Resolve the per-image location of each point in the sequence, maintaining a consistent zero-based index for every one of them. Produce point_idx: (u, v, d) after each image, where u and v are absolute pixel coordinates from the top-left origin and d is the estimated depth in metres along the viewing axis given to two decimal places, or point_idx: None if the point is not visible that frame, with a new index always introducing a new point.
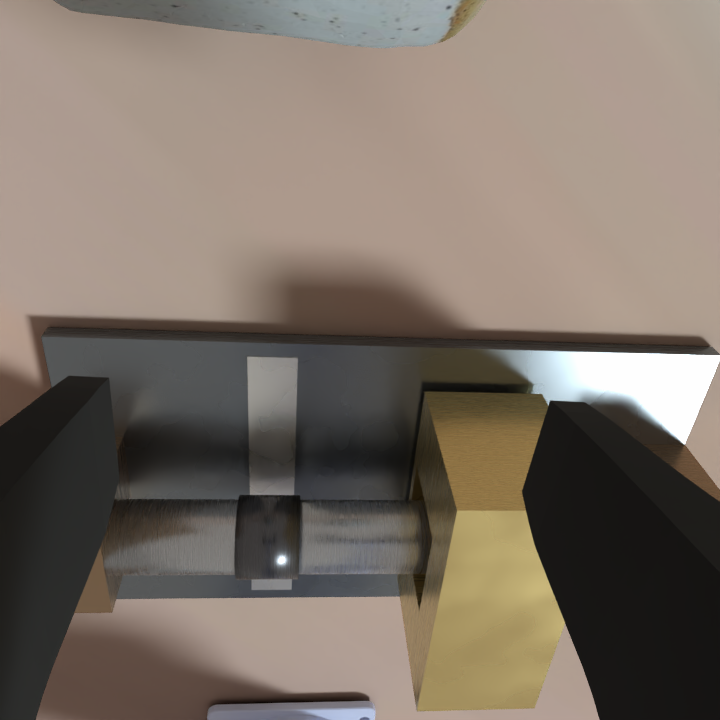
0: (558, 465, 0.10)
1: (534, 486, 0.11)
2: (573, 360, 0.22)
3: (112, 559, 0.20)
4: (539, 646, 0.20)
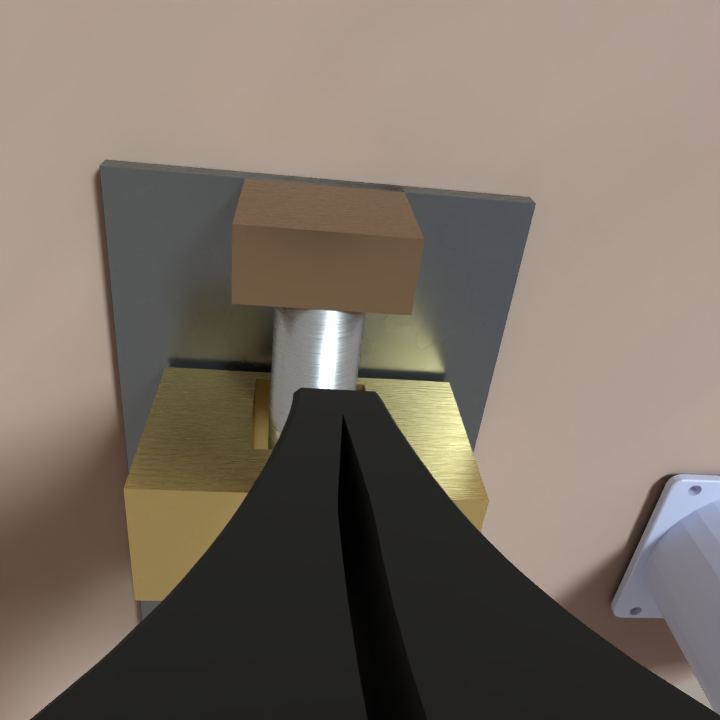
0: None
1: None
2: (127, 333, 0.20)
3: None
4: None
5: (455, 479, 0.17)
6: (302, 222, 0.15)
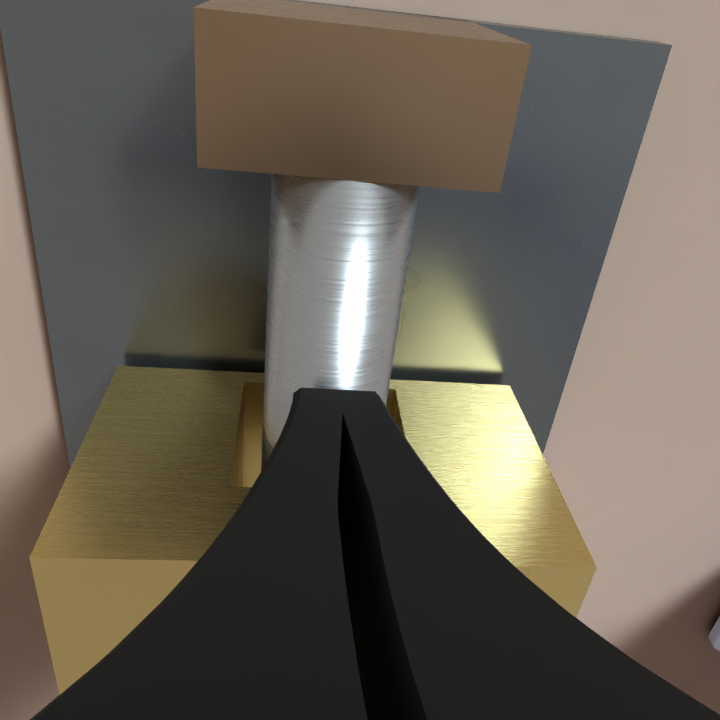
0: None
1: None
2: (54, 255, 0.14)
3: None
4: None
5: (540, 532, 0.12)
6: (317, 19, 0.09)
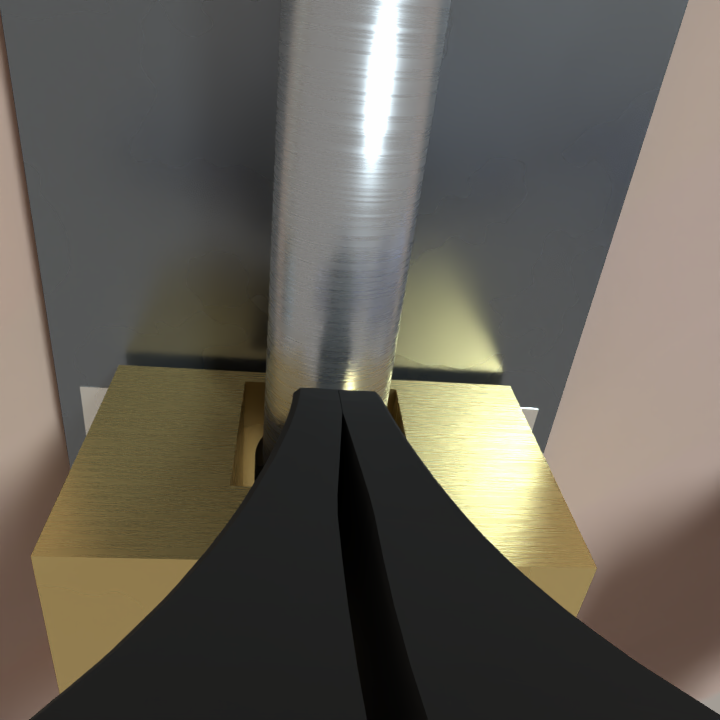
0: None
1: None
2: None
3: None
4: None
5: (541, 532, 0.12)
6: None
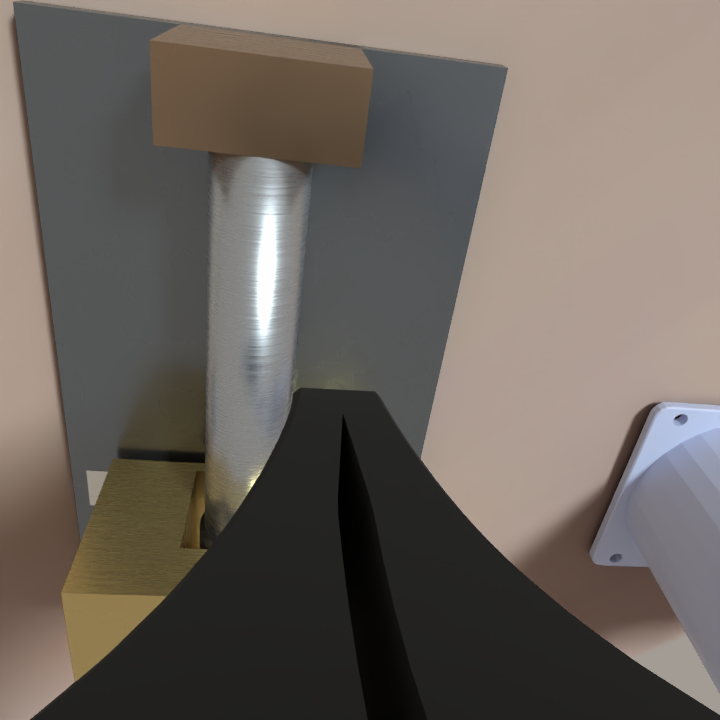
0: None
1: None
2: (53, 213, 0.18)
3: None
4: None
5: None
6: (233, 48, 0.13)
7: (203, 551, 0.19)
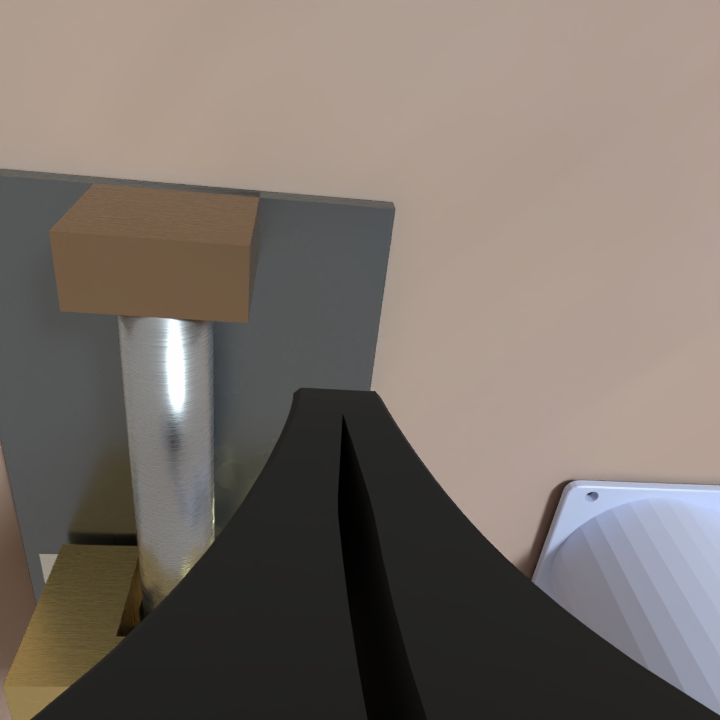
0: None
1: None
2: None
3: None
4: None
5: None
6: (126, 229, 0.15)
7: None
